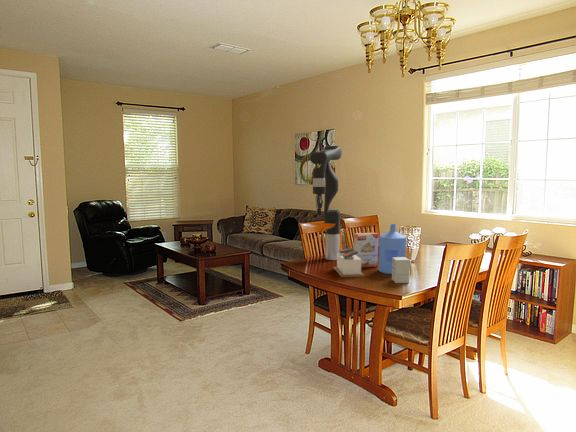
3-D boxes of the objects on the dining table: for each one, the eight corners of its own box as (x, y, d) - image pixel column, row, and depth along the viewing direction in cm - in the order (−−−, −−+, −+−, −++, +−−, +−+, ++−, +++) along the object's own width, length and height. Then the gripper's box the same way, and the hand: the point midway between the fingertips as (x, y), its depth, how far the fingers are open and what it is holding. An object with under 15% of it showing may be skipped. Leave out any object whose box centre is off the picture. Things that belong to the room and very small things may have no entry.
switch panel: (334, 268, 255) (334, 250, 254) (355, 268, 257) (355, 250, 255) (341, 277, 235) (341, 257, 233) (364, 276, 236) (364, 257, 235)
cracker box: (357, 268, 256) (357, 234, 254) (353, 266, 262) (353, 233, 259) (378, 266, 260) (378, 233, 257) (373, 264, 265) (374, 232, 263)
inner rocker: (339, 254, 252) (338, 250, 251) (352, 251, 252) (351, 247, 252) (341, 255, 248) (340, 251, 247) (354, 252, 248) (353, 248, 248)
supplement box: (404, 279, 230) (405, 256, 228) (409, 283, 222) (409, 259, 221) (391, 279, 229) (392, 256, 228) (395, 283, 222) (395, 259, 221)
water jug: (373, 269, 252) (374, 223, 249) (395, 267, 258) (396, 222, 255) (388, 275, 238) (389, 226, 235) (411, 273, 243) (412, 225, 240)
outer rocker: (344, 258, 241) (342, 255, 240) (357, 253, 241) (355, 249, 241) (345, 260, 237) (344, 256, 237) (358, 255, 237) (357, 251, 237)
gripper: (327, 186, 242) (327, 216, 244) (323, 185, 255) (323, 213, 257) (314, 186, 242) (314, 216, 244) (311, 185, 255) (311, 213, 257)
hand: (318, 215), depth 250 cm, fingers closed
